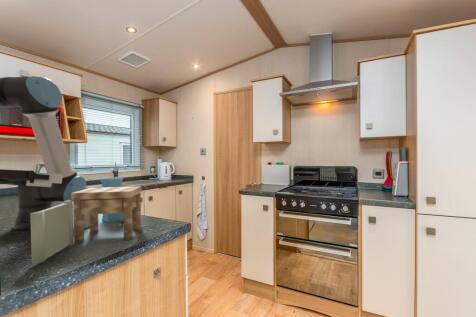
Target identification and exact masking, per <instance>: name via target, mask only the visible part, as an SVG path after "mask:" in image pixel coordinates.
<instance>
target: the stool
mask: <svg viewBox="0 0 476 317" xmlns="http://www.w3.org/2000/svg"><path fill="white" fill-rule="evenodd" d="M142 191H143V190H142V185H141V186H137V185H136V186H122V187H102V186H101V187H89V188H86V189H85V190H81V191H77V192H73V193H71V200H73V201H72V204H73V244H80V243H84V242H85V229H84V214H90V227H89V233H90V234H95V233H98V232H99V215H103V214H109V213H123V219H122V221H123V223H124V225H123V240H124V241H131V240H133V239H134V238H133V235H134V234H133V231H134V232H136V231H137V232H138V231H141V230H142V203H141V202H142V195H141V193H142ZM132 209H133V224H132Z"/></svg>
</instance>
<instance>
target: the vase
mask: <svg viewBox="0 0 476 317" xmlns="http://www.w3.org/2000/svg"><path fill="white" fill-rule="evenodd" d="M99 180H100V183H101V185H102V186H101V187H123V186H122V185H123V180H124V178H122V177H112V178H110V177H109V178H100V179H99ZM101 221H103V222H105V223H112V222H119V221H123V213H109V214H102V218H101Z"/></svg>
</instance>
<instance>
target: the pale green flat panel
mask: <svg viewBox="0 0 476 317" xmlns="http://www.w3.org/2000/svg"><path fill="white" fill-rule="evenodd" d="M30 218H31V229H30V249H31V251H30V252H31V255H30V256H31V264H32V265H37V264H41V263H44V262H45V261H46V260H47V259H48V258H49V257H51V256H52V255H54V254H55V253H57V252H59V251H61V250H62V249H64V248H66V247H67V246H72V245H73V244H74V209H73V201H71V200H70V201H64V202H63V203H60V204H58V205H55V206H52V207H51V208H48V209H45V210H42V211H39V212H34V213H31V214H30Z"/></svg>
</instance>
